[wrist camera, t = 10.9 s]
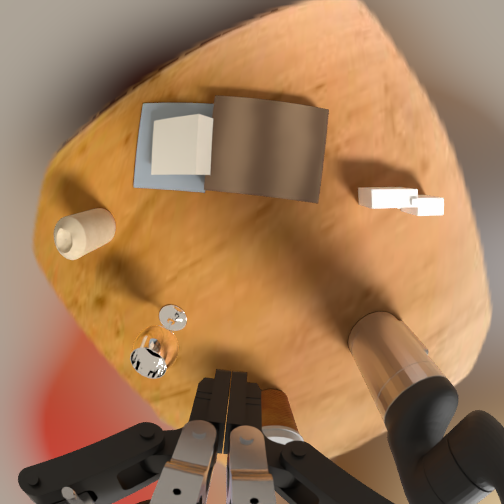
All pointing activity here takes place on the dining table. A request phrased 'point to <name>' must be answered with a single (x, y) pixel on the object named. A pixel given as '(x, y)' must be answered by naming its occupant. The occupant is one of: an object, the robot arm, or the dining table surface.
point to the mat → (145, 143)
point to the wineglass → (158, 344)
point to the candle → (83, 232)
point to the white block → (182, 145)
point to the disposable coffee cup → (278, 417)
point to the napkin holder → (401, 200)
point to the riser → (267, 148)
